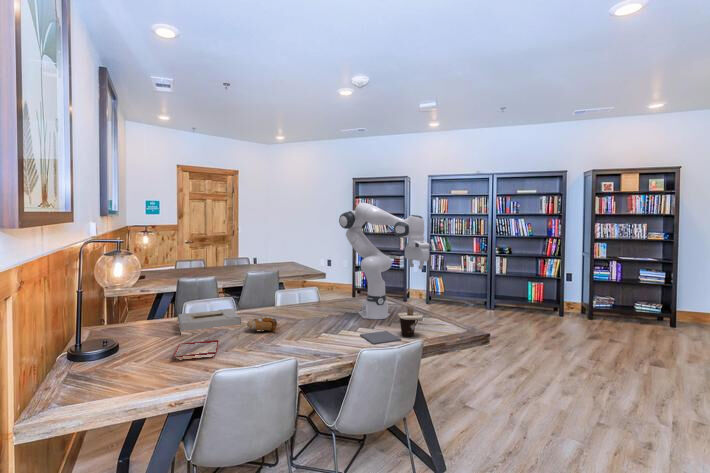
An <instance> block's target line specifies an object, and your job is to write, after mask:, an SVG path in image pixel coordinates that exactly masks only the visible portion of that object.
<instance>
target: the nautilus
mask: <svg viewBox="0 0 710 473" xmlns="http://www.w3.org/2000/svg"><path fill="white" fill-rule="evenodd" d="M246 326H247V328H249V329H250V330H253V329H255V330H254V331H255V332H257V333H258V332H261V331H257V330H266V331H265V332H273V333H281V332H282V331H280V327H281V325H280V324H279V322H278V320H277V319H276V318H274V317H273V316H269V315H268V316H267V315H261V316H257V317H254V318H252V319H250V320H248V321H247V323H246Z"/></svg>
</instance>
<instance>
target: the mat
mask: <svg viewBox="0 0 710 473" xmlns="http://www.w3.org/2000/svg"><path fill="white" fill-rule="evenodd" d="M359 336H360V337H361V338H363V339H364V340H366V341H367V342H369V343H370V344H372V345H381V344H386V343H392V342H393V343H394V342H402V338H400V337H398V336H397V335H395V334H393V333H392V332H390V331H389V330H382V331H374V332H368V333H360V334H359Z"/></svg>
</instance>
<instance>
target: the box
mask: <svg viewBox="0 0 710 473" xmlns="http://www.w3.org/2000/svg"><path fill="white" fill-rule="evenodd" d="M178 321H179V326H180V331H184V330H194V329H204V328H213V327H221V326H229V325H239V324H241V325H242V317H241V316H240V315H238V313H237V312H236V311H235V310H234V308H226V309H218V310H211V311H201V312H189V313H179V314H177V322H178ZM179 326H178V327H179ZM180 331H179V332H180Z"/></svg>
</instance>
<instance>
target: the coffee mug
mask: <svg viewBox="0 0 710 473" xmlns="http://www.w3.org/2000/svg"><path fill="white" fill-rule="evenodd" d="M418 322H419V319H418V320H406V319H401V318H399V323H400V333H401V337H403V338H413V337H414V335H415V328H416V325H417V324H418Z"/></svg>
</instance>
